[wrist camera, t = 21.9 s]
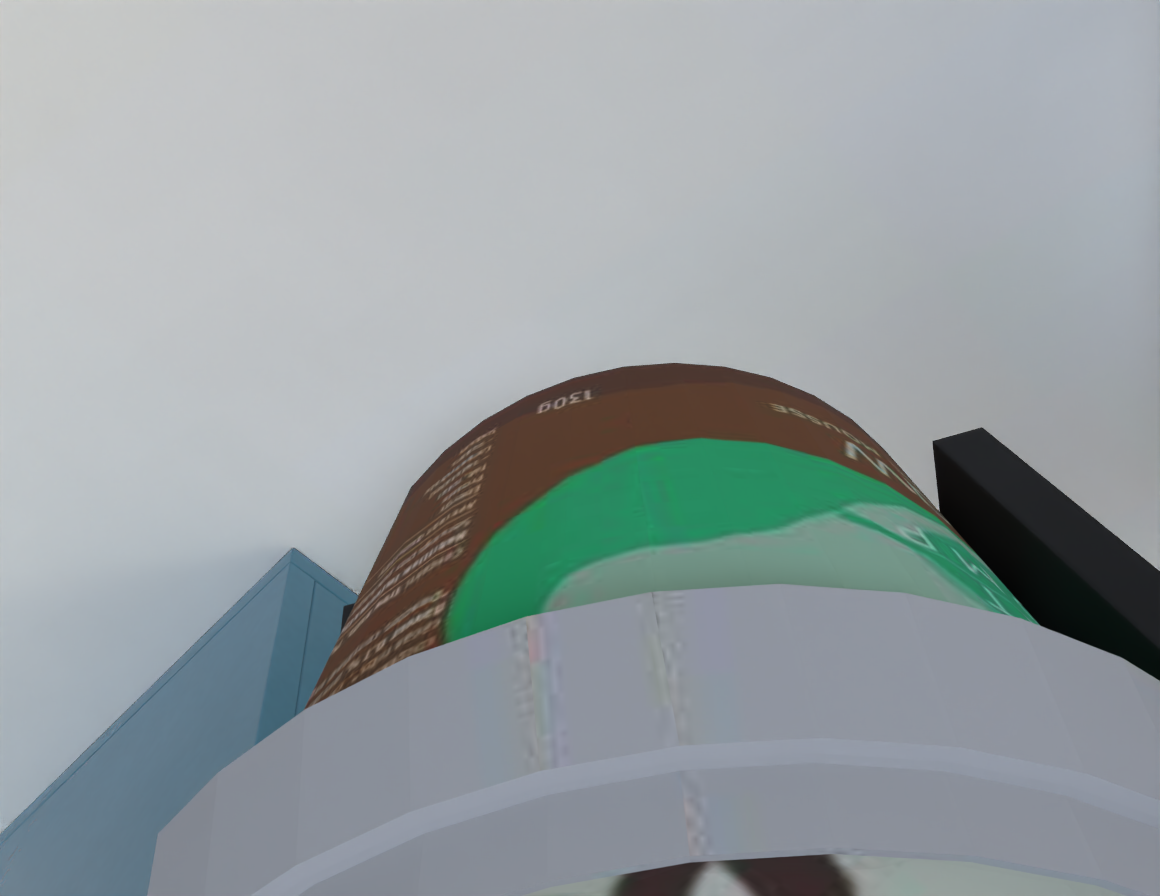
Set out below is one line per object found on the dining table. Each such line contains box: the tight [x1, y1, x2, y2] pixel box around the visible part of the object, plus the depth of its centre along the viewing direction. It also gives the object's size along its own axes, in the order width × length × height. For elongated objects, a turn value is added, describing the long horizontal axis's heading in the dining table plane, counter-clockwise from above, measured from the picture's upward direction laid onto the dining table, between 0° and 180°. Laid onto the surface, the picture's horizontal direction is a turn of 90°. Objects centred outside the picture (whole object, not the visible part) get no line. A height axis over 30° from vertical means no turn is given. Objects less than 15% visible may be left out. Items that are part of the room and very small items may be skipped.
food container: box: [147, 363, 1160, 896], centre depth 12 cm, size 12×6×10 cm, turn 52°
